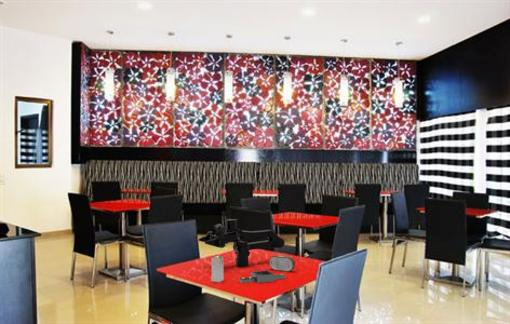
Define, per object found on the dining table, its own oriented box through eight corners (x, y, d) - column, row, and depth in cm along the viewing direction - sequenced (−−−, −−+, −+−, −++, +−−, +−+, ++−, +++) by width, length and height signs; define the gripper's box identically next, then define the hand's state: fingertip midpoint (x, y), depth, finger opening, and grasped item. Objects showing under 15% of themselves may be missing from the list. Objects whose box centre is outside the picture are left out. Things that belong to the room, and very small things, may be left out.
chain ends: (237, 279, 228) (237, 272, 228) (280, 275, 236) (280, 269, 236) (243, 284, 219) (243, 277, 219) (287, 280, 228) (287, 273, 228)
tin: (295, 271, 245) (295, 256, 245) (293, 272, 242) (293, 257, 242) (270, 268, 252) (270, 253, 252) (268, 270, 249) (268, 255, 249)
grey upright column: (215, 279, 229) (215, 254, 229) (223, 280, 228) (223, 255, 228) (211, 281, 225) (211, 256, 225) (219, 282, 224) (219, 257, 224)
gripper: (220, 221, 262) (195, 224, 254) (234, 226, 246) (208, 229, 238) (220, 240, 262) (195, 243, 255) (234, 246, 246) (208, 250, 239)
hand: (201, 241), depth 247 cm, fingers open, 9 cm apart
